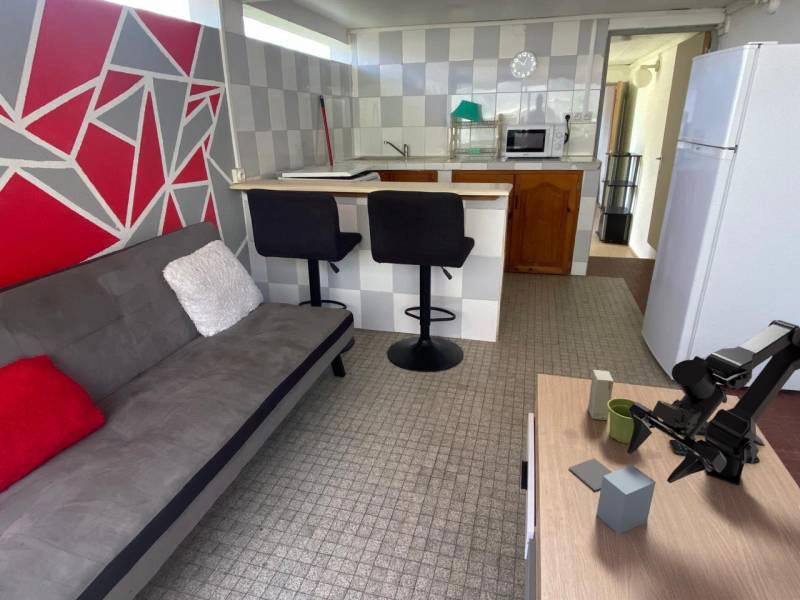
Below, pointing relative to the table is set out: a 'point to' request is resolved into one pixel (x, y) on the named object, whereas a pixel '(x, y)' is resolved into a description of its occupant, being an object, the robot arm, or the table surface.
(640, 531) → the table surface
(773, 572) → the table surface
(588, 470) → the pad
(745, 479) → the table surface
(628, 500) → the grey rectangular block
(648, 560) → the table surface
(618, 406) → the plant pot
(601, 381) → the skincare box
